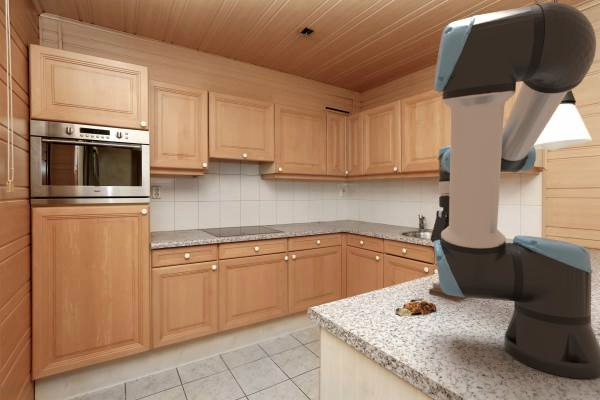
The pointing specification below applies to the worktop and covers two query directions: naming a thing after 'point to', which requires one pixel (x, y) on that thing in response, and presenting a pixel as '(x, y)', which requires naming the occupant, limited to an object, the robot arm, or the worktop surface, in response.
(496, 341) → the worktop surface
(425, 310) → the brown lumpy food piece
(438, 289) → the socket board
